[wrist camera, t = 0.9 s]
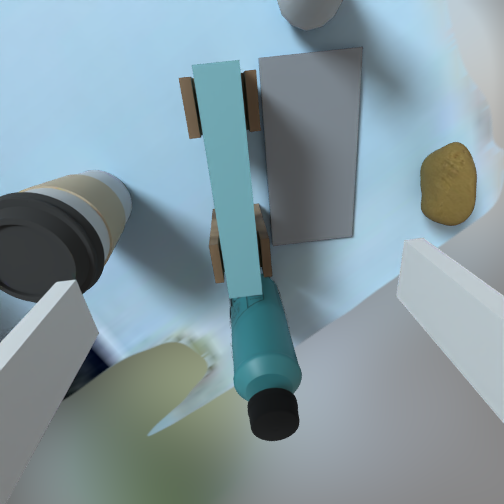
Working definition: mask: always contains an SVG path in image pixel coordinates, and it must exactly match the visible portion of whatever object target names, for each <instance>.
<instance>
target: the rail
mask: <svg viewBox="0 0 504 504" xmlns="http://www.w3.org/2000/svg"><path fill="white" fill-rule="evenodd" d="M192 69H193V76H194V82H195V88H196V94H197V101H198V107H199V113H200V119H201V125H202V132H203V138H204V144H205V150H206V156H207V163H208V169H209V175H210V181H211V188H212V194H213V200H214V206H215V212H216V219H217V225H218V231H219V237H220V244H221V250H222V256H223V262H224V268H225V275H226V281H227V287H228V293H229V298H237V297H245V296H253V295H261V294H262V284H261V274H260V264H259V254H258V244H257V234H256V224H255V214H254V204H253V194H252V184H251V174H250V164H249V154H248V144H247V133H246V123H245V113H244V103H243V93H242V83H241V73H240V63H239V60H235V61H225V62H216V63H207V64H197V65H192Z"/></svg>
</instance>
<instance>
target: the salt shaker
mask: <svg viewBox="0 0 504 504" xmlns="http://www.w3.org/2000/svg"><path fill="white" fill-rule="evenodd" d="M277 1H278V4H279V8H280V11H281V14H282V16H283V17H284V18H285V19H286V20H287V21H288V22H289V23H290V24H291V25H292V26H294V27H297V28H300V29H302V30H305V31H308V30H312V29H316V28H319V27H322V26H323V25H324V24H326V23H327V22H328V21H329V20H330V19H332V18H333V17H334V16H335V14H336V12H337V10H338V8H339V6H340V5H341V3H342V1H343V0H277Z"/></svg>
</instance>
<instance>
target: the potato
mask: <svg viewBox="0 0 504 504" xmlns="http://www.w3.org/2000/svg"><path fill="white" fill-rule="evenodd" d="M420 176H421V181H420V182H421V192H422V200H421V210H422V212H423V214H424V215H425V216H426V217H428V218H429V219H431V220H432V221H435V222H438V223H441V224H444V225H448V226H454V225H458V224H460V223H462V222H464V221H465V220H466V219H467V218H468V217H469V216H470V215H471V213H472V211H473V209H474V206H475V200H476V183H477V174H476V167H475V164H474V161H473V158H472V156H471V154H470V152H469V150H468V149H467V148H466V147H465V146H464V145H463V144H461V143H459V142H453V143H450V144H448V145H446V146H444V147H442V148H440V149H438V150H436V151H434V152H433V153H431V154H430V155H429V156H428V157H427V158H426V159H425V160H424V162H423V163H422V166H421V171H420Z"/></svg>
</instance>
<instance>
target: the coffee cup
mask: <svg viewBox="0 0 504 504" xmlns="http://www.w3.org/2000/svg"><path fill="white" fill-rule="evenodd" d="M131 211H132V200H131V196H130V194H129V191H128V190H127V188H126V187H125V185H124V184H123V183H122V182H121V181H120V180H119V179H118V178H116V177H115V176H113V175H112V174H110V173H107V172H104V171H100V170H89V171H85V172H82V173H79V174H75V175H68V176H64V177H61V178H58V179H55V180H52V181H49V182H45V183H42V184H39V185H36V186H33V187H30V188H27V189H24V190H22V191H20V192H17V193H11V194H7V195H3V196H1V197H0V290H2V291H4V292H5V293H7V294H9V295H11V296H13V297H16V298H19V299H22V300H26V301H31V302H35V303H38V301H39V300H40V299H41V298H42V297H43V296H44V295H45V294H46V293H47V292H48V291H49V290H50V288H51V287H52V286H53V285H54V284H55V283H56V282H61V281H69V280H76V281H77V283H78V285H79V288H80V290H81V292H82V294H83V293H85V292H86V291H87V290H88V289H90V288H91V287H92V286H93V285H94V284H95V283H96V282H97V281H98V279H99V278H100V276H101V274H102V271H103V268H104V265H105V264H106V263H107V261H108V259H109V257H110V255H111V253H112V251H113V250H114V248H115V246H116V244H117V242H118V240H119V238H120V236H121V234H122V232H123V230H124V227H125V224H126V222H127V220H128V218H129V216H130V214H131Z"/></svg>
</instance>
